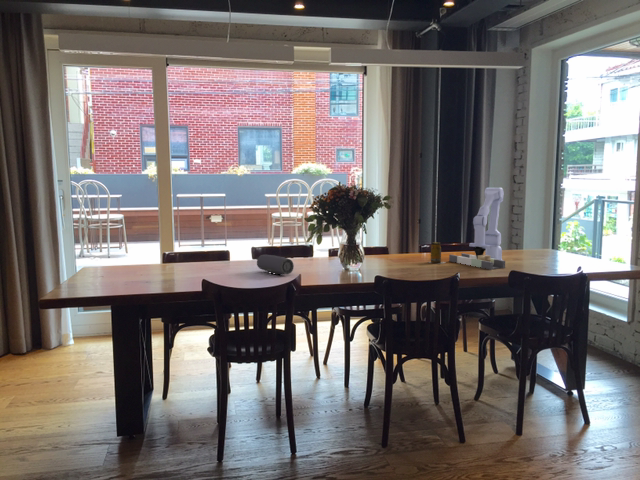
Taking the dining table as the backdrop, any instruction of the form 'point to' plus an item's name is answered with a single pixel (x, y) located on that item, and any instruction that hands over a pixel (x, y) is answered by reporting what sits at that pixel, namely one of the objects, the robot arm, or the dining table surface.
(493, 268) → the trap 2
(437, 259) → the condiment
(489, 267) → the trap box
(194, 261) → the dining table surface
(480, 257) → the maple block
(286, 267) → the bluetooth speaker
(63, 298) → the dining table surface
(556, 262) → the dining table surface
